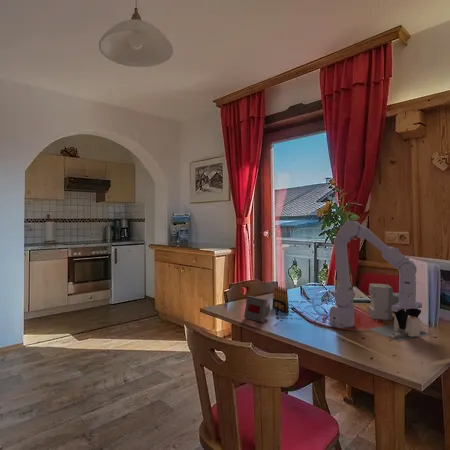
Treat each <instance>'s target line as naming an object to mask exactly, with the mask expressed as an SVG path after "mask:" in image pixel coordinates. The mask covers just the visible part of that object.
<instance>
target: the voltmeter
mask: <svg viewBox="0 0 450 450" xmlns="http://www.w3.org/2000/svg"><path fill="white" fill-rule="evenodd" d="M277 301H278V302H279V300H278V299H277V300H276V302H277ZM281 302H283V301H281ZM285 302H286V301H285ZM287 302H288V303H289V300H288V301H287ZM290 303H291V304H289V306H293V304H292V303H307V302H306V301H302V300H301V301H297V300H294V301H293V300H290ZM277 305H279V304H277ZM280 305H283V304H280ZM285 305H286V304H285ZM287 305H288V304H287ZM278 308H279V306H277V309H278ZM288 308H289V309H290V310H289V313H293V314H294V313H295V314H296V313H297V314H298V313H300V314H302V313H304V311H293V310H296V307H287V309H288ZM280 309H284V307H280ZM285 309H286V308H285ZM291 310H292V311H291ZM270 311H271V308H270V304H269V302H268V299H266V298H261V297H257V296H251V295H247V296H246V302H245V309H244V315H243V316H244V318H245V319H249V320H253V321H257V322H261V323H263V324H264V323H265V318H268V316H269V315H270ZM282 312H284V311H282ZM282 312H281V311H279V310H275V315H276V317H275V319H276V320H279V319H280V317H279V316H283V317H281V319H280V322H282V323H283V322H285V320H292V317H293V314H289V313H287V314H285V313H283V314H282ZM285 312H286V311H285ZM280 313H281V314H280ZM284 316H289V318H288V317H284ZM282 319H285V320H282ZM295 320H303V318H300V317H299V318H295Z"/></svg>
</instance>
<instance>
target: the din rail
mask: <svg viewBox="0 0 450 450" xmlns="http://www.w3.org/2000/svg"><path fill="white" fill-rule="evenodd" d="M425 332H426V331H425V329H423V328H420V333H425ZM405 336H408V331H406V330H405V331H400V332H394V333H389V334H388V337H387V338H389V337H391V338H390V339H392V338H393V339H392V340H394V339H395V338H400V337H405Z"/></svg>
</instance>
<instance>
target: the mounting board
mask: <svg viewBox="0 0 450 450" xmlns="http://www.w3.org/2000/svg"><path fill="white" fill-rule="evenodd" d="M367 330H369V331H371V332H374V333H377V334H379V335H382V336H384V337H387V338H390V339H391V340H395V341H396V342H403V341H407V340H412V339H416V338H422V337H426V336H430V335H432V333H428V332H426V331H425V333H420V335H418V336H413V337H411V336H405V337H400V338H395V339H393V338H391V337H388V334H389V333H394V332H396V331H394V324H388V325H384V326H378V327H373V328H367ZM404 331H405V330H404ZM399 332H400V331H399Z"/></svg>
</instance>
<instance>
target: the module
mask: <svg viewBox="0 0 450 450" xmlns="http://www.w3.org/2000/svg"><path fill="white" fill-rule="evenodd" d="M393 314H394V313H393ZM393 317H394V318H393V325H394V331H396V332H399V331H404V330H403V329H400V328H399V325H398V321H397V318H396V316H395V314H394V315H393ZM420 325H421V318H420V317H418V318H417V317H414V316H410V315H408V318H407V322H406V328H405V330H406V331H408V336H411V337H413V336H418V335H420V329H421V327H420Z"/></svg>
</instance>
